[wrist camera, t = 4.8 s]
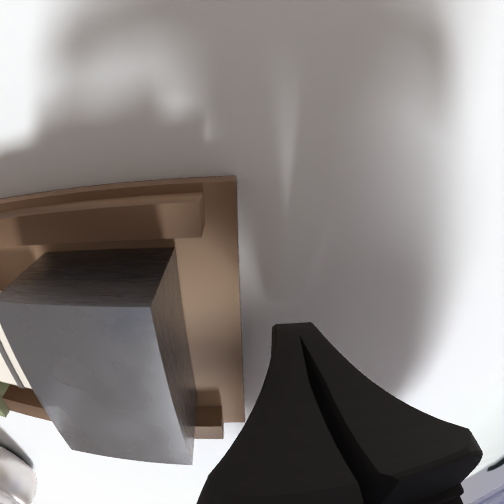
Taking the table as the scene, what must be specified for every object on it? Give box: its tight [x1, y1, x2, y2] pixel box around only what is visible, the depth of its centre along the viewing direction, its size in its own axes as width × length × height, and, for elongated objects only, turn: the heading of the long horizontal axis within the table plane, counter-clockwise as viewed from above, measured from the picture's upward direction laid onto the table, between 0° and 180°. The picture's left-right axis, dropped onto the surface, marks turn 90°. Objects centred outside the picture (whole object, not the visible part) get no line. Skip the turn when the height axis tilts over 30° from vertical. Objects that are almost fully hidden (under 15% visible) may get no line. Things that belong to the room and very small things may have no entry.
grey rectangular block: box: [0, 247, 198, 465], centre depth 10 cm, size 7×5×4 cm
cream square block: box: [0, 291, 32, 389], centre depth 10 cm, size 4×4×2 cm
